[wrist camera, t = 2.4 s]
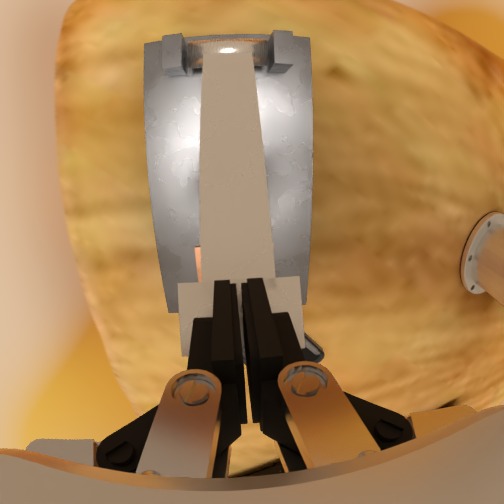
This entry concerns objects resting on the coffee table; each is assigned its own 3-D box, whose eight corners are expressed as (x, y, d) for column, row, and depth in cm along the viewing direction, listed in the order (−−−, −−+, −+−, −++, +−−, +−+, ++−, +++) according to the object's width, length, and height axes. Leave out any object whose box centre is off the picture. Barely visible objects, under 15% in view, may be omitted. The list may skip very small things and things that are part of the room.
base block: (158, 59, 20) (132, 31, 13) (294, 54, 21) (322, 24, 14) (176, 284, 29) (163, 334, 21) (293, 278, 29) (315, 324, 22)
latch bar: (191, 57, 16) (188, 36, 14) (263, 54, 17) (265, 33, 15) (188, 351, 12) (180, 357, 10) (296, 344, 13) (307, 349, 11)
